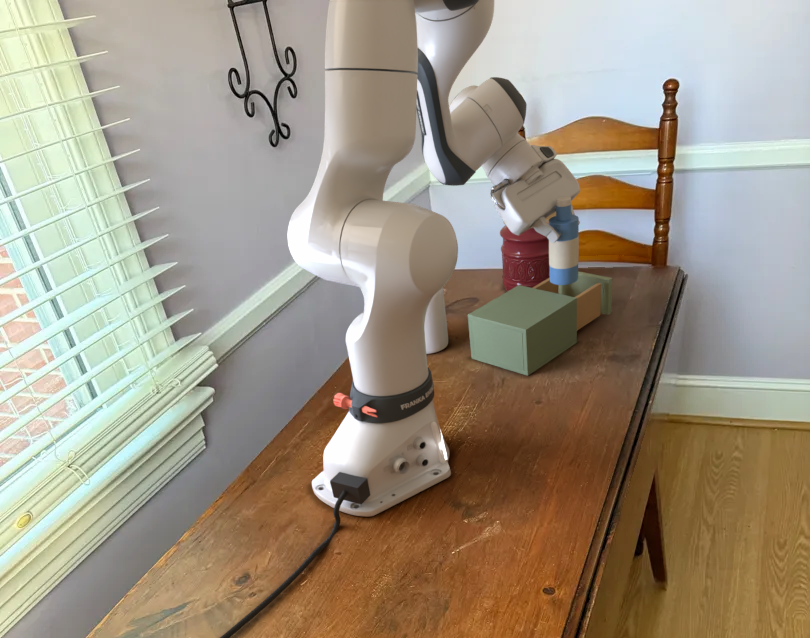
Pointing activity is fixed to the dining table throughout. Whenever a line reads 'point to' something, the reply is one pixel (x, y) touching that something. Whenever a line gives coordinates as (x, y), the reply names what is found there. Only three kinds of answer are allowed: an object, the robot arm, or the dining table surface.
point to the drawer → (585, 295)
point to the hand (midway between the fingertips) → (566, 233)
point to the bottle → (564, 244)
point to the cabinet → (523, 329)
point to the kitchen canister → (525, 257)
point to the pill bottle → (436, 324)
